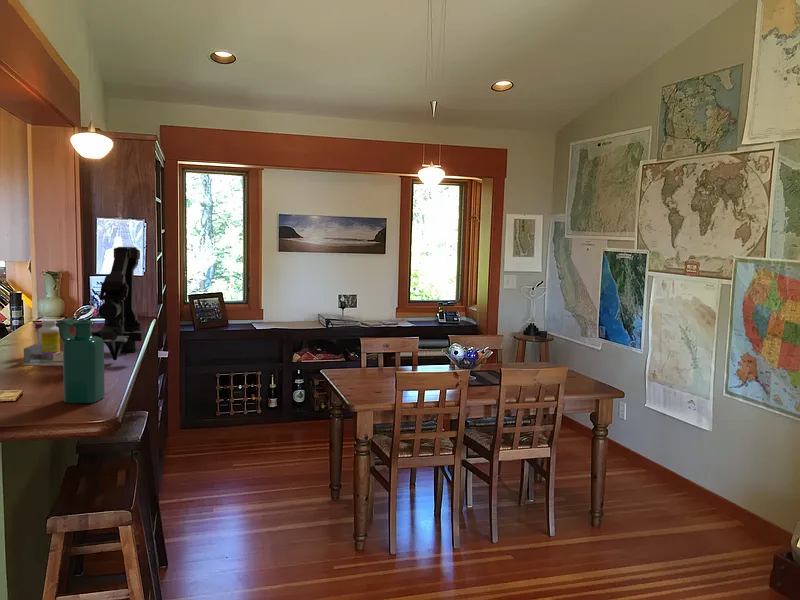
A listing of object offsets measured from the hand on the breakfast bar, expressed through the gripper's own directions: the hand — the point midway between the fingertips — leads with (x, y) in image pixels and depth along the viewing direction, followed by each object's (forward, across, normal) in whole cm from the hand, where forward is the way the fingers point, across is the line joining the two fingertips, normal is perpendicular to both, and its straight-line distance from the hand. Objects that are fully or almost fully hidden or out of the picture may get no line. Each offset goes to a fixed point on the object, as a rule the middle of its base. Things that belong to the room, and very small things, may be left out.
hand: (115, 360), depth 215 cm
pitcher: (+1, +6, -48) cm, 48 cm away
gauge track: (+1, -21, 0) cm, 21 cm away
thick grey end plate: (0, -13, -1) cm, 13 cm away
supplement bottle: (+1, -26, +12) cm, 29 cm away
